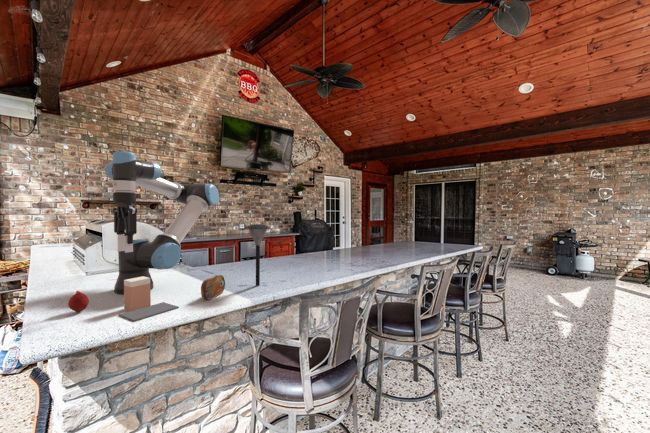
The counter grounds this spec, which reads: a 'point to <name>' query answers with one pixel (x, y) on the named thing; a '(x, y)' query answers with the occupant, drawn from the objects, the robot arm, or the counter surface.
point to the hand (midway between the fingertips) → (125, 251)
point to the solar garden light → (257, 244)
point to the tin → (212, 287)
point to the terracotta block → (137, 293)
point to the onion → (78, 302)
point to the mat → (148, 311)
